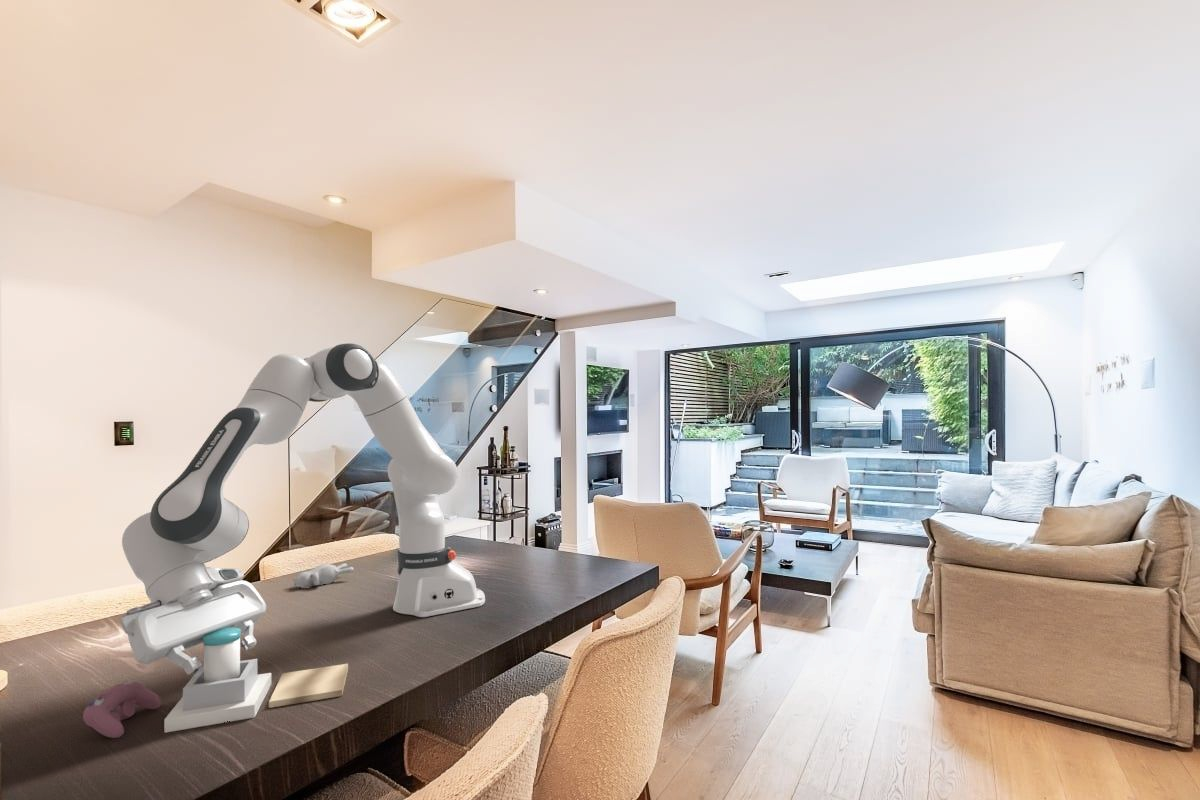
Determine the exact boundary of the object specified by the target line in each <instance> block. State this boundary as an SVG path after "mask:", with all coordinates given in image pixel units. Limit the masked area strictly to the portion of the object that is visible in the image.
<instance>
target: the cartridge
mask: <svg viewBox="0 0 1200 800" xmlns="http://www.w3.org/2000/svg"><path fill="white" fill-rule="evenodd" d="M241 637H242V633H241V629H240V628H234V627H232V628H223V629H220V630H217V631H215V632H212V633H209V634H206V635H204V636H203V643H202V644H203V666H204V683H208V682H215V681H221V680H228V679H235V678H239V677H240V661H241V645H240V643H241Z"/></svg>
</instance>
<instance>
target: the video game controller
mask: <svg viewBox="0 0 1200 800" xmlns="http://www.w3.org/2000/svg"><path fill="white" fill-rule="evenodd" d="M136 705H137V706H140V707H142V708H145V709H147V710H157V709H159V708H160V707H161V705H162V700H161V697H160V696H159V695H158V694H157V693H155V692H154V691H152V690H150V689H148V688H147V687H146V686H144V685H143V684H142V683H140V682H138V681H137V682H136V681H135V680H133V679H131V680H129V681H125V682H122V683H119V684H115V685H113V686H111V687H109V688H107V689H105V690H104V691H102V692H101V693H100V694H98V695H97V696H96V697H95V698H94V699H93V700H92V701H91V702H90V703H89V705H87V707H85V708H84V710H83V713H82V719H83V722H84V723H85V724H86V726H88V727H90V728H92V729H94V730H95V731H96V732H97V733H99V734H101V735H102V736H105V737H106V738H111V739H118V738H120V737H122V736H123V735H124V733H125V728H124V726H123V724H122V723H121V720H122V721H123V720H124V719H125V720H127V719H129V718H130V717H132V716H133V715H134V714H135V713H136ZM115 708H116V712H115V711H112V710H114V709H115ZM125 720H124V721H125Z"/></svg>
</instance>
